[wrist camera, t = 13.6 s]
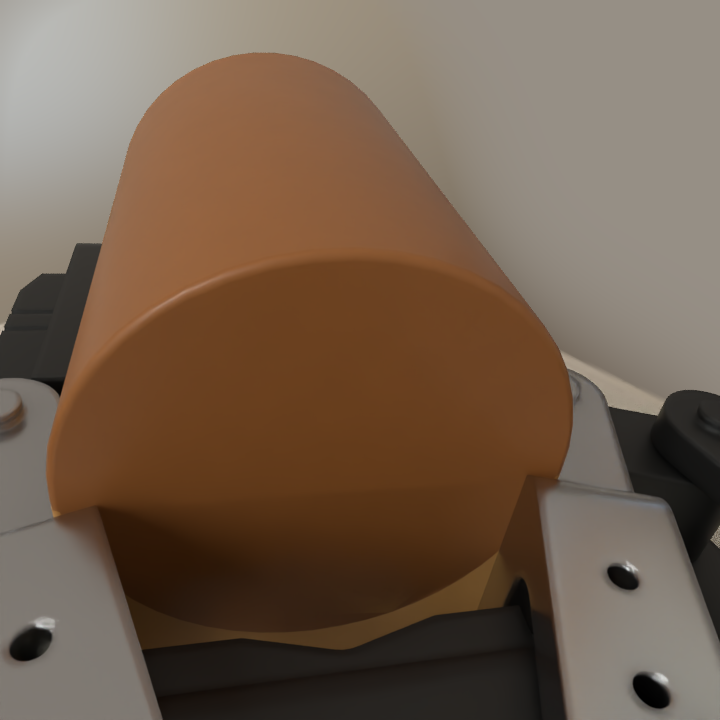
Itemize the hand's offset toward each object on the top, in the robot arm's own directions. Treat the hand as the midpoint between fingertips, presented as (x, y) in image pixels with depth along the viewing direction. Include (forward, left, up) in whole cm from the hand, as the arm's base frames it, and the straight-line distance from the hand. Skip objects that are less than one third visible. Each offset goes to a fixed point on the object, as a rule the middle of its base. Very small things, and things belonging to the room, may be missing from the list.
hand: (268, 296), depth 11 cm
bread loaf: (+1, -3, -6) cm, 7 cm away
